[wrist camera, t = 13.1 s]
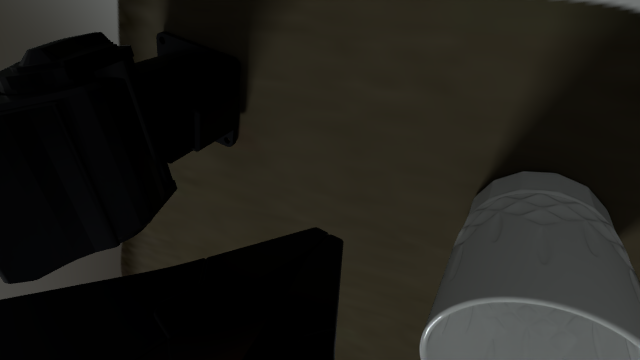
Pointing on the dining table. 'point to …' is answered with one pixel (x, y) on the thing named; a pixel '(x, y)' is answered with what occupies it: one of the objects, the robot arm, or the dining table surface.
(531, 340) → the white cup
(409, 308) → the dining table surface
